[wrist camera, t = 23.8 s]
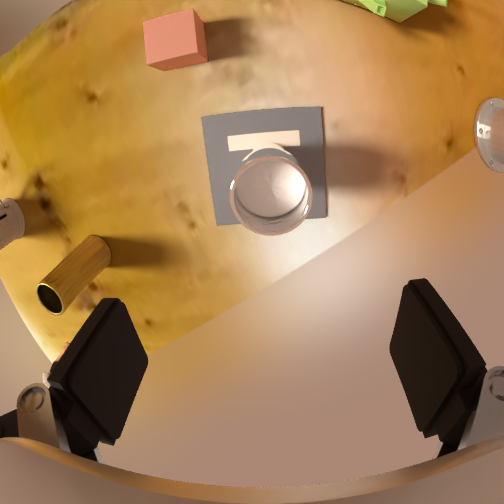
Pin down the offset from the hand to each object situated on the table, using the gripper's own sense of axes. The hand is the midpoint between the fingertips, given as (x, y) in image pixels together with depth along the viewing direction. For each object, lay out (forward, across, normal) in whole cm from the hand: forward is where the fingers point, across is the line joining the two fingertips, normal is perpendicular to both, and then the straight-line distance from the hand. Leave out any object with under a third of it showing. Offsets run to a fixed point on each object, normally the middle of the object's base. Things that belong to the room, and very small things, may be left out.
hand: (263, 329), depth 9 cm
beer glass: (+30, 0, 0) cm, 30 cm away
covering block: (+30, +9, -18) cm, 36 cm away
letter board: (+30, 0, 0) cm, 30 cm away
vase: (+31, +29, +10) cm, 43 cm away
